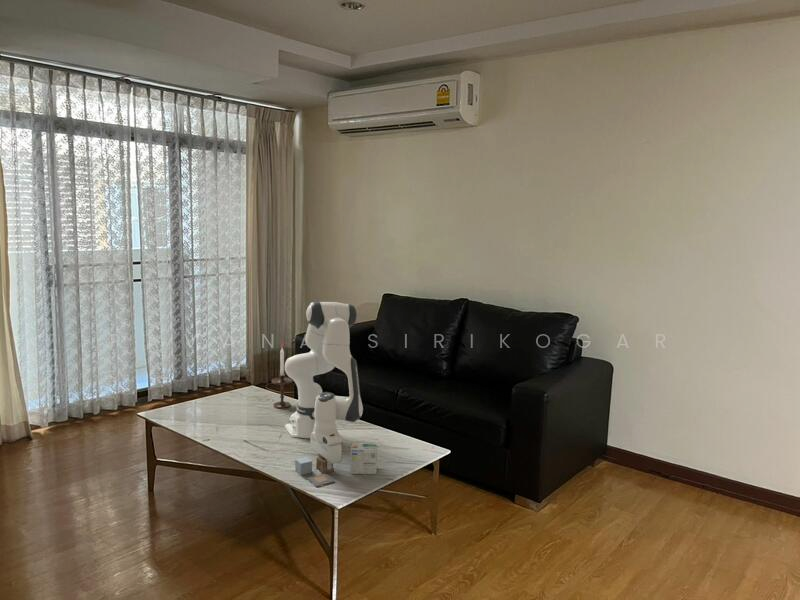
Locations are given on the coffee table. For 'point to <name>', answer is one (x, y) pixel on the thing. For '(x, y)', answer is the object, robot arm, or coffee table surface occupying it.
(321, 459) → the walnut block
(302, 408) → the robot arm
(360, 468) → the light bulb box
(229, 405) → the coffee table surface
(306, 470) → the slate block
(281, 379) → the candlestick
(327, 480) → the tile
